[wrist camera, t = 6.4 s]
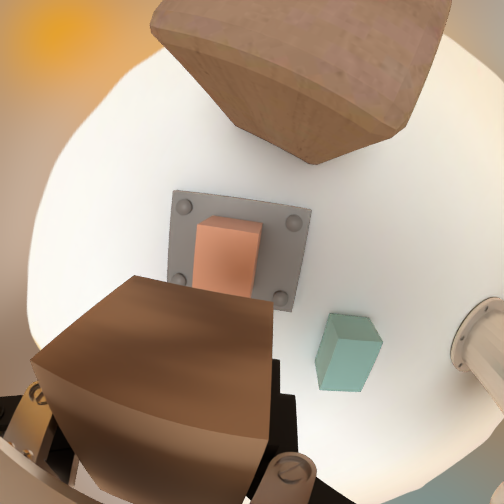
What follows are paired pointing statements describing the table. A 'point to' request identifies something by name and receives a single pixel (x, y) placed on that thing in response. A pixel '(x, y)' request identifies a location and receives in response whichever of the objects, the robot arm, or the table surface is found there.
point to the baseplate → (272, 244)
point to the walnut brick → (164, 391)
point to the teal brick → (346, 353)
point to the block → (308, 65)
